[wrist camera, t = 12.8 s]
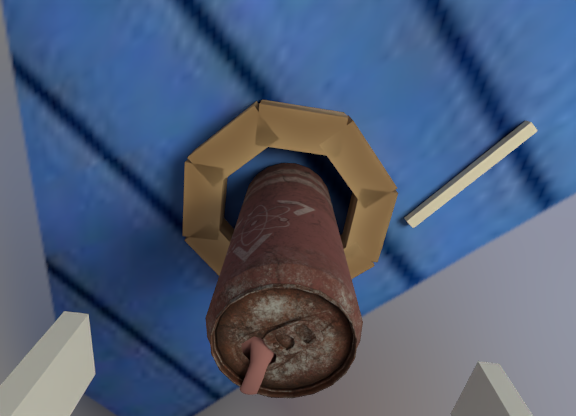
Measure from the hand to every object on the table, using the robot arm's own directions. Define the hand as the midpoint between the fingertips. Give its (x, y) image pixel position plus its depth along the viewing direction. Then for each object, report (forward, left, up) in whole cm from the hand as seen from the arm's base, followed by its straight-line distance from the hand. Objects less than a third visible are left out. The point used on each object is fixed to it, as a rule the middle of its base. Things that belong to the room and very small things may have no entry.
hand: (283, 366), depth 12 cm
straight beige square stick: (-4, +12, -15) cm, 19 cm away
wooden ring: (0, 0, -15) cm, 15 cm away
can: (0, 0, -15) cm, 15 cm away
